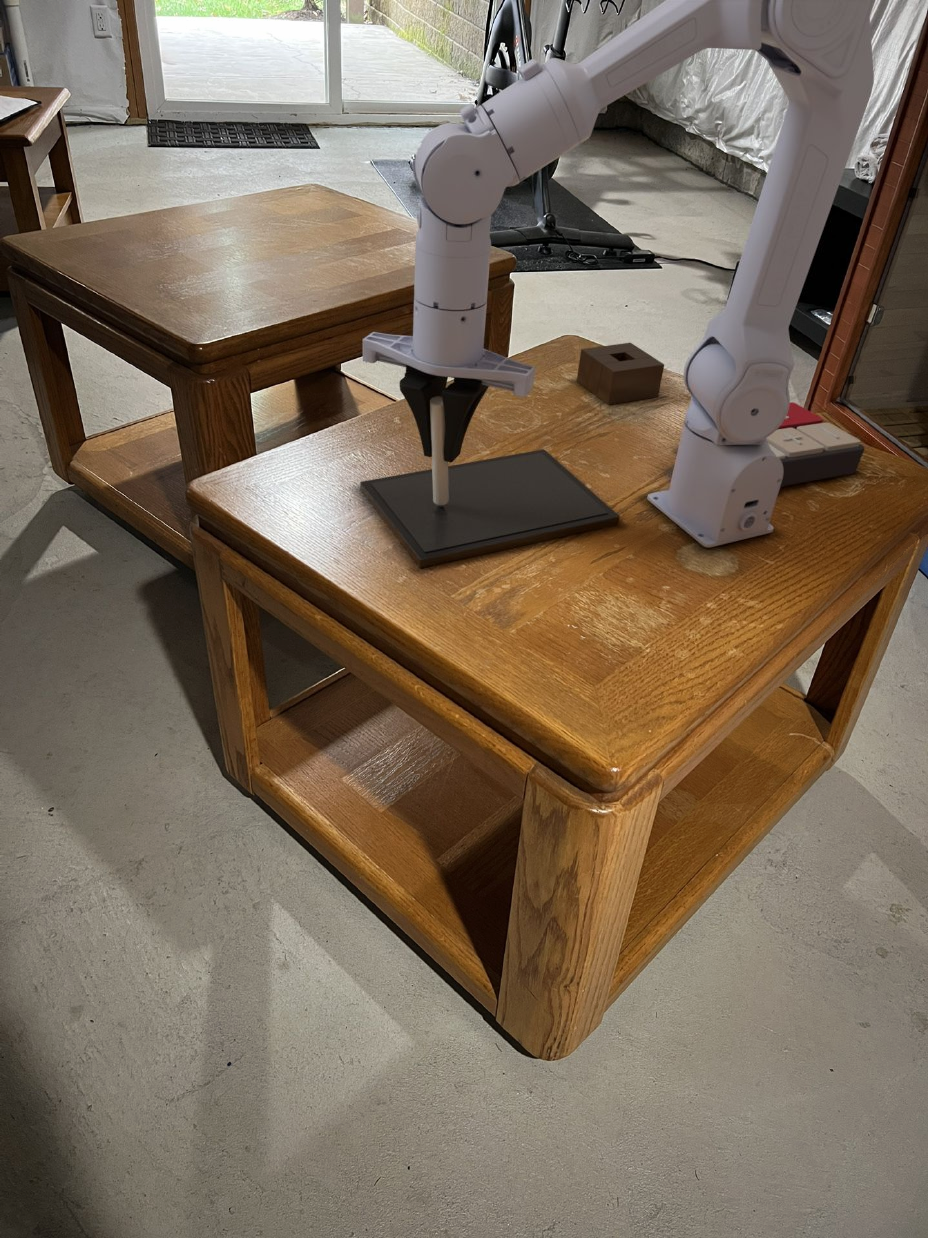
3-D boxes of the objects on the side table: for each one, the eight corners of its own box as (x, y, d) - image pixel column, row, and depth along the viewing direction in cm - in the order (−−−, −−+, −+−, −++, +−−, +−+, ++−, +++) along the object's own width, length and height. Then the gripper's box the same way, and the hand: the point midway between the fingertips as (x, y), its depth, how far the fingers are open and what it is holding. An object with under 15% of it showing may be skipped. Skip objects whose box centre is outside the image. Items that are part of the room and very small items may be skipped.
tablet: (618, 524, 86) (620, 515, 85) (419, 568, 78) (420, 558, 78) (543, 456, 96) (544, 447, 95) (359, 489, 88) (359, 480, 87)
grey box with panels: (870, 440, 95) (759, 458, 88) (855, 478, 97) (746, 498, 91) (794, 397, 102) (687, 410, 96) (782, 433, 105) (677, 448, 99)
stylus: (451, 503, 85) (449, 398, 77) (444, 512, 84) (442, 406, 76) (437, 499, 85) (434, 394, 77) (430, 508, 84) (426, 402, 77)
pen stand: (658, 396, 109) (664, 364, 107) (608, 405, 107) (613, 371, 104) (624, 373, 114) (630, 342, 112) (576, 381, 112) (580, 348, 109)
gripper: (554, 300, 74) (535, 454, 82) (389, 268, 78) (387, 418, 86) (524, 328, 69) (508, 489, 77) (349, 292, 73) (351, 449, 81)
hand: (442, 454), depth 81 cm, fingers closed on stylus, 1 cm apart
